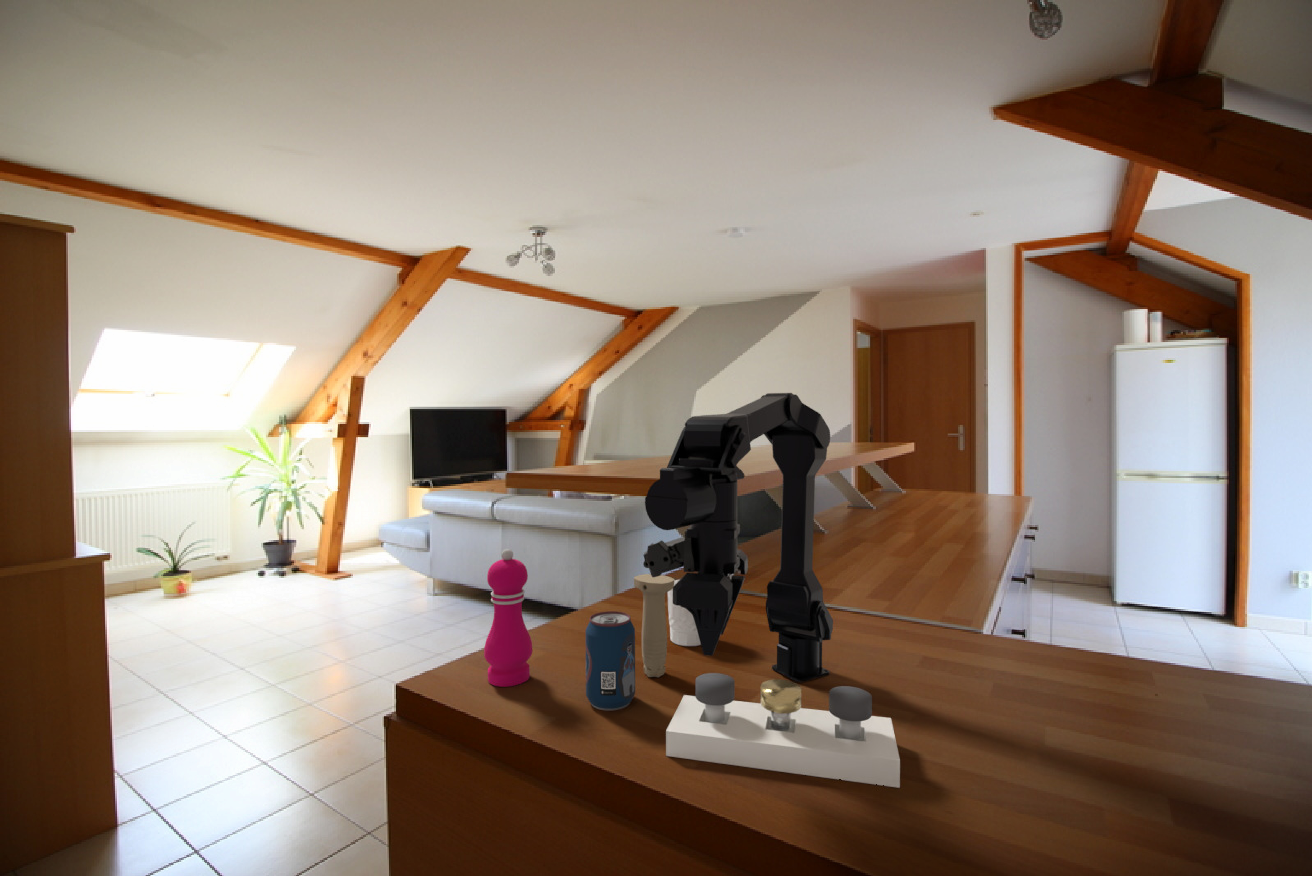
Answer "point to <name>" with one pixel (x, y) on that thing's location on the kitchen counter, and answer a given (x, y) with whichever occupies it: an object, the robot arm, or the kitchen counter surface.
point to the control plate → (786, 743)
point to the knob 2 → (850, 709)
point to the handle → (654, 621)
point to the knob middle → (780, 701)
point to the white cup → (681, 624)
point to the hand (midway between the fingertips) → (713, 644)
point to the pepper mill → (507, 624)
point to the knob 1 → (715, 694)
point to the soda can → (610, 660)
